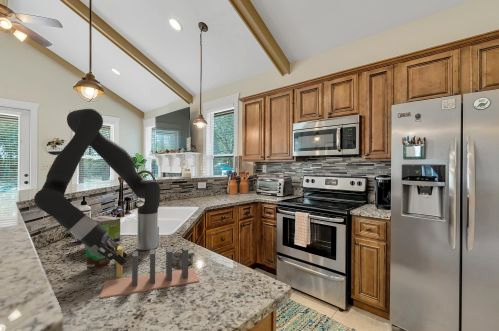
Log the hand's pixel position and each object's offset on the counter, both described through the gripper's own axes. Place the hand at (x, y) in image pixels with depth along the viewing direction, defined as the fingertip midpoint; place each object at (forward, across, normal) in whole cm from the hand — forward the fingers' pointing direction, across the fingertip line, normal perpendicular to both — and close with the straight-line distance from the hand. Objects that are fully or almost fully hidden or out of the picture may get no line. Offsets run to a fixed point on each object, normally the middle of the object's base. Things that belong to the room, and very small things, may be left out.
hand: (125, 260), depth 94 cm
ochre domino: (+2, 0, +5) cm, 5 cm away
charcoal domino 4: (+18, -11, -11) cm, 23 cm away
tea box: (-5, +38, +12) cm, 40 cm away
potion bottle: (-13, +55, +20) cm, 60 cm away
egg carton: (+18, +4, -11) cm, 22 cm away
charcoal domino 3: (+14, -11, -7) cm, 19 cm away
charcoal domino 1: (+6, -11, +1) cm, 12 cm away
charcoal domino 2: (+10, -11, -3) cm, 15 cm away
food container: (-3, +13, +10) cm, 17 cm away
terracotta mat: (+10, -11, -3) cm, 15 cm away
